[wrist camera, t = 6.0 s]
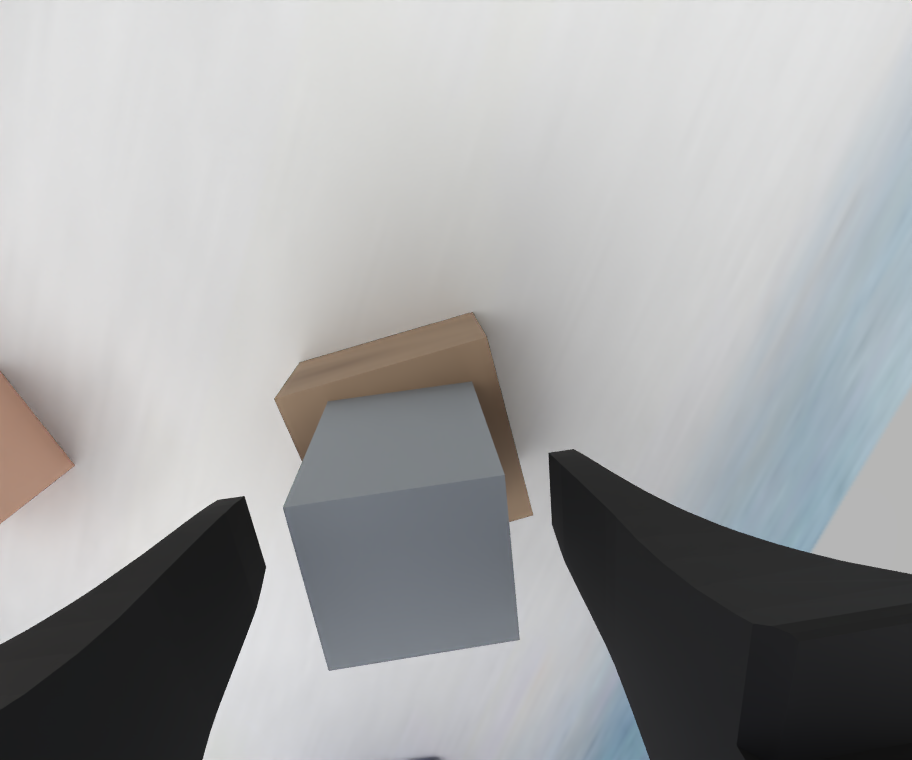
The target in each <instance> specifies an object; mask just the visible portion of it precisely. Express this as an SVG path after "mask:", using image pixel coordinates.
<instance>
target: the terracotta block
mask: <svg viewBox="0 0 912 760" xmlns="http://www.w3.org/2000/svg"><path fill="white" fill-rule="evenodd" d="M74 466H75V465H74V464H73V463H72V461H71V460H70V459H69V457H68V456H67V455H66V454H65V452H64V451H63V450H62V449H61V447H60V446H59V445H58V444H57V442H56V441H55V440H54V439H53V437H52V436H51V435H50V433H49V432H48V431H47V430H46V428H45V427H44V426H43V425H42V423H41V422H40V421H39V420H38V418H37V417H36V416H35V414H34V413H33V412H32V411H31V409H30V408H29V407H28V406H27V404H26V403H25V402H24V401H23V399H22V398H21V397H20V396H19V394H18V393H17V392H16V390H15V389H14V388H13V387H12V385H11V384H10V383H9V382H8V380H7V379H6V378H5V377H4V375H3V374H2V373H1V371H0V524H1V523H2V522H3V521H5V520H6V519H7V518H8V517H10V516H11V515H12V514H13V513H15V512H16V511H17V510H19V509H20V508H21V507H22V506H24V505H25V504H26V503H28V502H29V501H30V500H31V499H33V498H34V497H35V496H37V495H38V494H39V493H40V492H42V491H43V490H44V489H45V488H47V487H48V486H49V485H51V484H52V483H53V482H54V481H56V480H57V479H58V478H60V477H61V476H62V475H63V474H65V473H66V472H67V471H69V470H70V469H71V468H72V467H74Z"/></svg>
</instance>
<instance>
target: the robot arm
mask: <svg viewBox="0 0 912 760" xmlns="http://www.w3.org/2000/svg"><path fill="white" fill-rule="evenodd" d="M549 473H550V493H551V514H552V526H553V529H554V532H555V535H556V538H557V541H558V544H559V547H560V550H561V552H562V555H563V558H564V561H565V563H566V565H567V567H568V569H569V571H570V573H571V575H572V577H573V580H574V582H575V584H576V586H577V588H578V590H579V592H580V594H581V596H582V598H583V600H584V602H585V604H586V606H587V608H588V610H589V612H590V614H591V616H592V618H593V620H594V622H595V624H596V626H597V628H598V630H599V632H600V634H601V636H602V638H603V640H604V642H605V644H606V646H607V649H608V651H609V653H610V655H611V658H612V660H613V662H614V664H615V667H616V669H617V672H618V675H619V677H620V680H621V683H622V685H623V688H624V690H625V693H626V696H627V698H628V701H629V704H630V706H631V709H632V711H633V714H634V717H635V720H636V722H637V725H638V728H639V731H640V733H641V736H642V739H643V742H644V744H645V747H646V750H647V753H648V755H649V758H650V760H912V574H907V573H902V572H897V571H892V570H886V569H881V568H876V567H871V566H865V565H860V564H855V563H849V562H845V561H840V560H836V559H832V558H828V557H824V556H820V555H816V554H812V553H808V552H804V551H800V550H796V549H793V548H789V547H786V546H782V545H778V544H775V543H772V542H768V541H765V540H762V539H759V538H756V537H753V536H750V535H747V534H744V533H741V532H738V531H735V530H732V529H729V528H727V527H724V526H721V525H718V524H716V523H714V522H711V521H709V520H706V519H704V518H701V517H699V516H696V515H694V514H692V513H689V512H687V511H685V510H682V509H680V508H678V507H676V506H674V505H672V504H670V503H668V502H666V501H664V500H662V499H660V498H658V497H656V496H654V495H652V494H650V493H648V492H646V491H644V490H642V489H641V488H639V487H637V486H635V485H633V484H632V483H630V482H628V481H626V480H625V479H623V478H621V477H619V476H618V475H616V474H614V473H613V472H611V471H609V470H608V469H606V468H604V467H603V466H601V465H600V464H598V463H596V462H595V461H593V460H591V459H590V458H588V457H586V456H585V455H583V454H581V453H580V452H578V451H576V450H574V449H572V450H565V451H558V452H551V453H549ZM265 569H266V565H265V562H264V559H263V556H262V552H261V549H260V546H259V542H258V539H257V536H256V533H255V529H254V526H253V523H252V519H251V516H250V513H249V510H248V506H247V503H246V500H245V496H242V497H235V498H228V499H221V500H217V501H215V502H214V503H212V504H210V505H209V506H207V507H206V508H204V509H203V510H202V511H200V512H199V513H197V514H196V515H195V516H193V517H192V518H191V519H189V520H188V521H187V522H185V523H184V524H183V525H181V526H180V527H179V528H177V529H176V530H175V531H173V532H172V533H171V534H169V535H168V536H167V537H165V538H164V539H163V540H161V541H160V542H158V543H157V544H156V545H154V546H153V547H152V548H150V549H149V550H148V551H146V552H145V553H144V554H142V555H141V556H140V557H138V558H137V559H135V560H134V561H133V562H131V563H130V564H128V565H127V566H125V567H124V568H123V569H121V570H120V571H118V572H117V573H116V574H114V575H113V576H111V577H110V578H108V579H107V580H106V581H104V582H103V583H101V584H100V585H98V586H97V587H96V588H94V589H93V590H91V591H90V592H88V593H87V594H85V595H83V596H82V597H80V598H79V599H77V600H76V601H74V602H73V603H71V604H69V605H68V606H66V607H65V608H63V609H61V610H60V611H58V612H56V613H55V614H53V615H51V616H50V617H48V618H46V619H45V620H43V621H42V622H40V623H38V624H37V625H35V626H33V627H31V628H30V629H28V630H26V631H25V632H23V633H21V634H19V635H17V636H15V637H13V638H12V639H10V640H8V641H6V642H4V643H2V644H1V645H0V760H202V759H203V756H204V752H205V748H206V745H207V741H208V738H209V734H210V731H211V728H212V725H213V722H214V719H215V716H216V713H217V710H218V708H219V705H220V702H221V700H222V697H223V695H224V692H225V690H226V687H227V684H228V682H229V679H230V677H231V674H232V671H233V669H234V666H235V664H236V661H237V659H238V656H239V653H240V651H241V648H242V646H243V643H244V640H245V638H246V635H247V632H248V630H249V627H250V625H251V622H252V619H253V616H254V614H255V611H256V608H257V604H258V600H259V596H260V592H261V588H262V583H263V579H264V574H265Z"/></svg>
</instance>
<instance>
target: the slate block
mask: <svg viewBox="0 0 912 760" xmlns="http://www.w3.org/2000/svg"><path fill="white" fill-rule="evenodd" d="M283 510H284V513H285V517H286V520H287V524H288V527H289V531H290V535H291V538H292V542H293V545H294V549H295V552H296V556H297V560H298V563H299V567H300V570H301V574H302V577H303V581H304V585H305V588H306V592H307V595H308V599H309V602H310V606H311V609H312V613H313V617H314V620H315V624H316V627H317V631H318V634H319V638H320V642H321V645H322V649H323V652H324V656H325V659H326V663H327V666H328V670H329V671H330V670H337V669H343V668H349V667H355V666H361V665H367V664H373V663H380V662H386V661H392V660H398V659H404V658H410V657H417V656H423V655H429V654H435V653H441V652H447V651H453V650H460V649H466V648H472V647H478V646H484V645H490V644H497V643H503V642H509V641H515V640H520V638H519V627H518V616H517V605H516V594H515V583H514V572H513V561H512V550H511V539H510V527H509V516H508V505H507V494H506V483H505V474H504V471H503V469H502V466H501V463H500V460H499V457H498V454H497V451H496V449H495V446H494V443H493V440H492V437H491V434H490V431H489V429H488V426H487V423H486V420H485V417H484V414H483V412H482V409H481V406H480V403H479V400H478V397H477V394H476V392H475V389H474V386H473V383H472V381H471V382H464V383H457V384H449V385H442V386H435V387H428V388H420V389H413V390H406V391H399V392H391V393H384V394H377V395H370V396H362V397H355V398H348V399H341V400H333V401H328V402H327V404H326V407H325V409H324V412H323V414H322V416H321V419H320V421H319V423H318V426H317V428H316V430H315V433H314V435H313V438H312V440H311V442H310V445H309V447H308V449H307V452H306V454H305V457H304V459H303V461H302V464H301V466H300V468H299V471H298V473H297V475H296V478H295V480H294V483H293V485H292V487H291V490H290V492H289V494H288V497H287V499H286V501H285V504H284V506H283Z"/></svg>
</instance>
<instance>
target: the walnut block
mask: <svg viewBox="0 0 912 760" xmlns="http://www.w3.org/2000/svg"><path fill="white" fill-rule="evenodd" d="M471 381H472V383H473V386H474V389H475V392H476V394H477V397H478V400H479V403H480V406H481V409H482V412H483V414H484V417H485V420H486V423H487V426H488V429H489V431H490V434H491V437H492V440H493V443H494V446H495V449H496V451H497V454H498V457H499V460H500V463H501V466H502V469H503V471H504V474H505V483H506V494H507V505H508V516H509V522H511V521H514V520H518V519H521V518H525V517H528V516H532V515H533V512H532V508H531V505H530V501H529V497H528V493H527V489H526V485H525V482H524V478H523V474H522V470H521V466H520V462H519V459H518V455H517V451H516V447H515V443H514V439H513V436H512V432H511V428H510V424H509V420H508V416H507V412H506V409H505V405H504V401H503V397H502V393H501V389H500V386H499V382H498V378H497V374H496V370H495V366H494V363H493V359H492V355H491V351H490V347H489V343H488V340H487V336H486V335H485V333H484V331H483V330H482V328H481V326H480V324H479V323H478V321H477V319H476V318H475V316H474V314H473V312H471V313H467V314H464V315H461V316H457V317H454V318H450V319H447V320H443V321H440V322H437V323H433V324H430V325H426V326H423V327H419V328H416V329H413V330H409V331H406V332H402V333H399V334H395V335H392V336H389V337H385V338H382V339H378V340H375V341H371V342H368V343H365V344H361V345H358V346H354V347H351V348H347V349H344V350H341V351H337V352H334V353H330V354H327V355H324V356H320V357H317V358H313V359H310V360H306V361H303V362H300V363H299V364H298V366H297V367H296V368H295V370H294V371H293V373H292V374H291V376H290V377H289V378H288V380H287V381H286V383H285V384H284V386H283V387H282V388H281V390H280V391H279V393H278V394H277V396H276V397H275V398H274V400H275V402H276V404H277V406H278V409H279V411H280V413H281V415H282V418H283V420H284V422H285V424H286V427H287V429H288V431H289V433H290V435H291V438H292V440H293V442H294V444H295V447H296V449H297V451H298V453H299V456H300V458H301V460H302V461H303V459H304V457H305V454H306V452H307V449H308V447H309V445H310V442H311V440H312V438H313V435H314V433H315V430H316V428H317V426H318V423H319V421H320V419H321V416H322V414H323V412H324V409H325V407H326V404H327V402H328V401H333V400H341V399H348V398H355V397H362V396H370V395H377V394H384V393H391V392H399V391H406V390H413V389H420V388H428V387H435V386H442V385H449V384H457V383H464V382H471Z"/></svg>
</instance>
